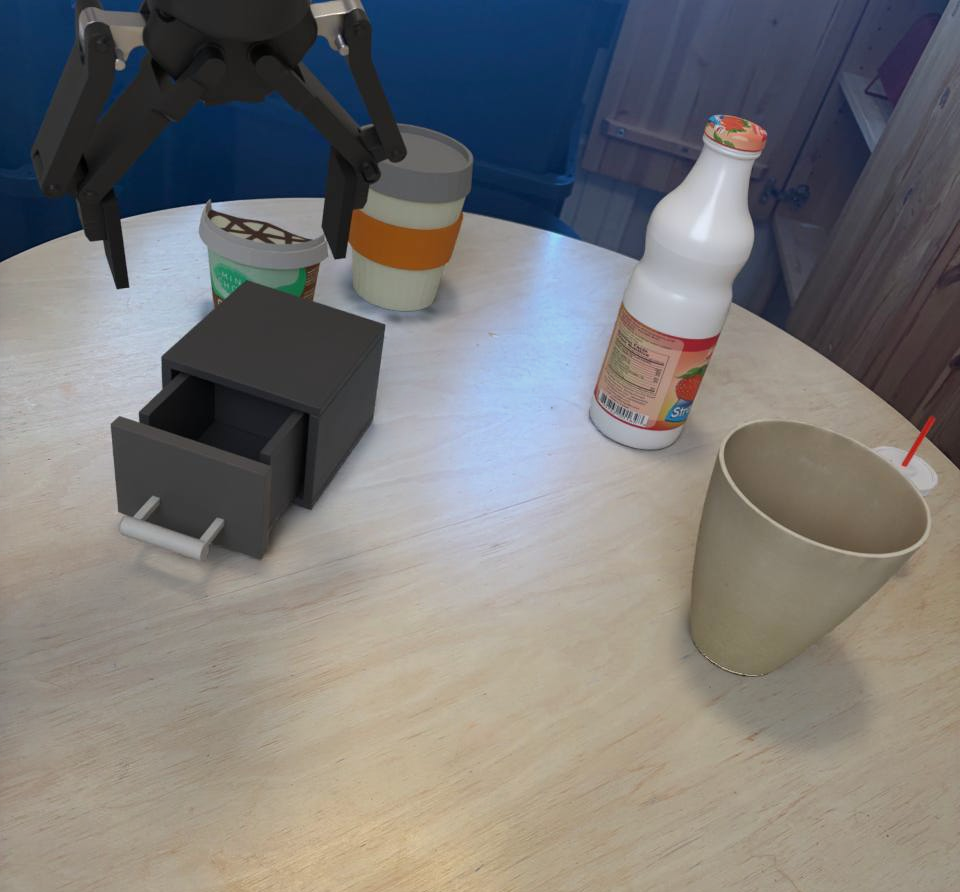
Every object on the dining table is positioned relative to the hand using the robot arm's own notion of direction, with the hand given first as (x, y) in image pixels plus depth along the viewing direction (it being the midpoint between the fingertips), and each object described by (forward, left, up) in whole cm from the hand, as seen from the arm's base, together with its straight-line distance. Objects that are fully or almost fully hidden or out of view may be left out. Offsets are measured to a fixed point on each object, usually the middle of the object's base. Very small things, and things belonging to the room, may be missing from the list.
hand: (229, 256), depth 61 cm
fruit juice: (+19, +38, -21) cm, 47 cm away
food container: (-17, +24, -21) cm, 36 cm away
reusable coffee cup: (-12, +42, -21) cm, 48 cm away
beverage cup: (+43, +35, -21) cm, 59 cm away
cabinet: (-4, +11, -21) cm, 24 cm away
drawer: (-1, 0, -20) cm, 20 cm away
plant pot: (+38, +15, -21) cm, 46 cm away
